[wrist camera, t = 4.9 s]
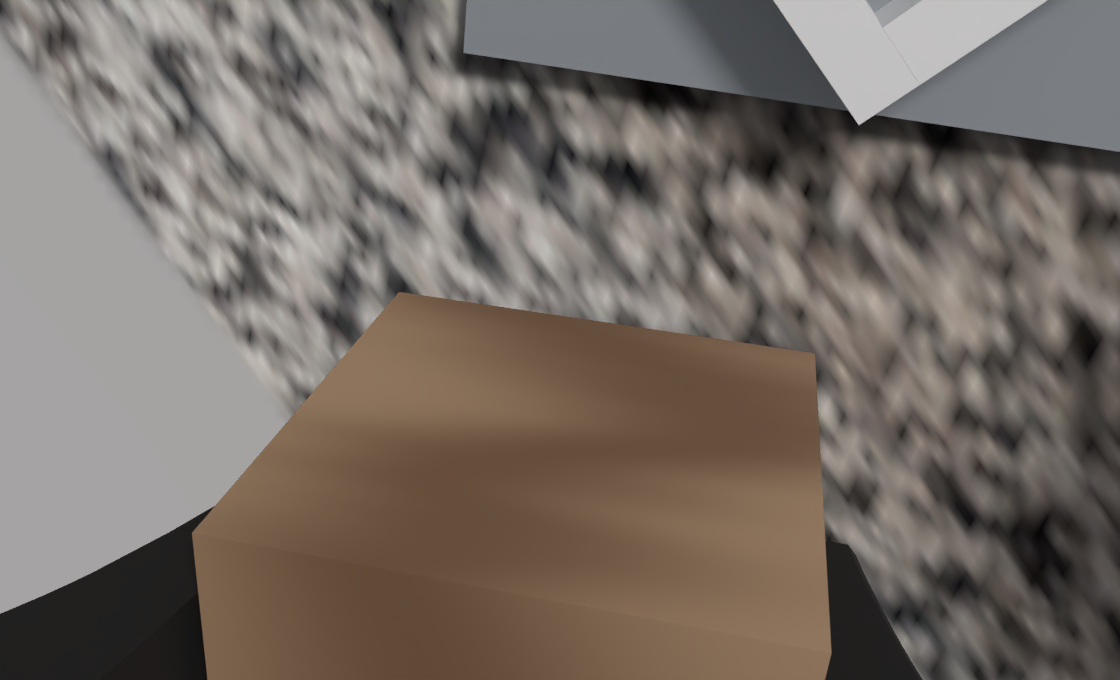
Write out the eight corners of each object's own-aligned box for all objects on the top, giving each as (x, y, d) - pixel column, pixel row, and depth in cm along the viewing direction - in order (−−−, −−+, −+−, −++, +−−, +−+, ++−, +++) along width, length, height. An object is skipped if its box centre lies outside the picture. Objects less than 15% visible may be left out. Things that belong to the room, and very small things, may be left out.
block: (814, 353, 12) (831, 652, 8) (749, 679, 14) (732, 1057, 10) (399, 291, 13) (192, 532, 8) (398, 611, 15) (235, 935, 10)
